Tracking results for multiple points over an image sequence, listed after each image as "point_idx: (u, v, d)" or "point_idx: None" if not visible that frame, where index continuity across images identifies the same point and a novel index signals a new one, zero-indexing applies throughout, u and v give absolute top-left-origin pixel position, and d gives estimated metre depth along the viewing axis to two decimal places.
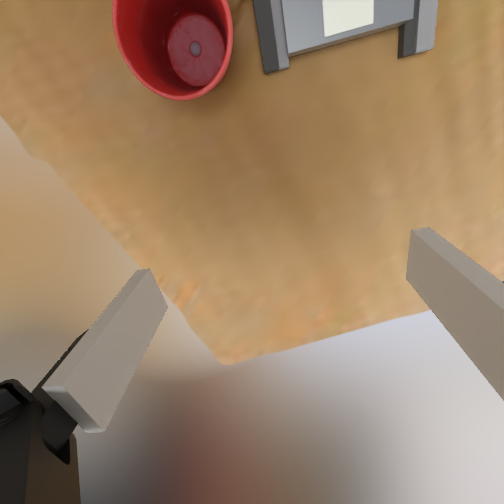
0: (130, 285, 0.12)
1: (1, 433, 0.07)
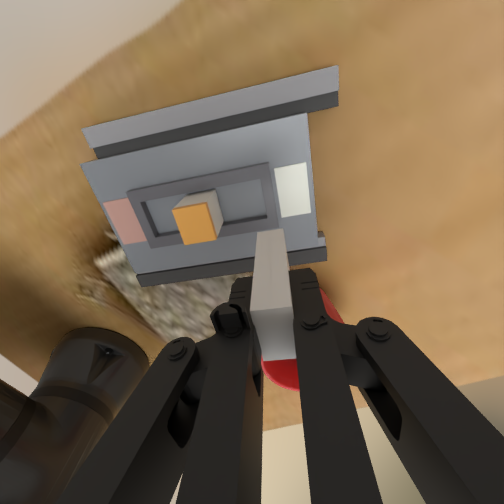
0: (262, 242, 0.13)
1: (226, 344, 0.08)
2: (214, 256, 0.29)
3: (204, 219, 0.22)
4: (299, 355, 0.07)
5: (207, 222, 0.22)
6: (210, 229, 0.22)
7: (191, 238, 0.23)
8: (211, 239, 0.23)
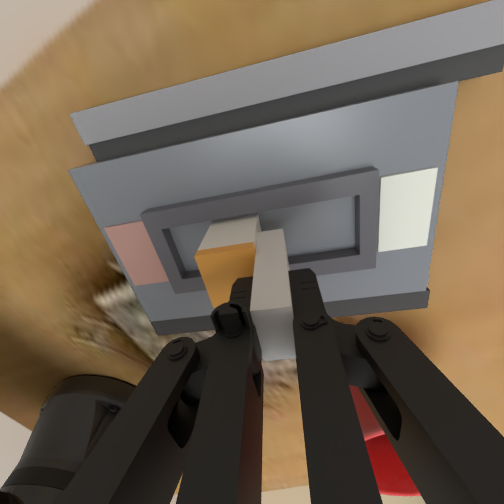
0: (262, 242, 0.13)
1: (226, 344, 0.08)
2: None
3: (249, 271, 0.13)
4: (299, 355, 0.07)
5: None
6: None
7: (225, 299, 0.14)
8: None
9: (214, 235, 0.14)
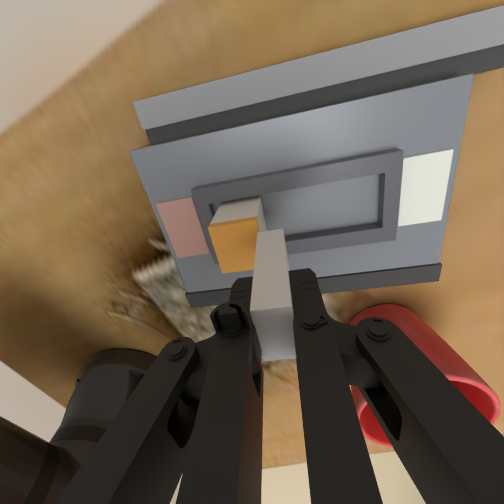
0: (262, 242, 0.13)
1: (226, 344, 0.08)
2: None
3: (252, 241, 0.16)
4: (299, 355, 0.07)
5: None
6: None
7: (232, 265, 0.17)
8: None
9: (223, 213, 0.17)
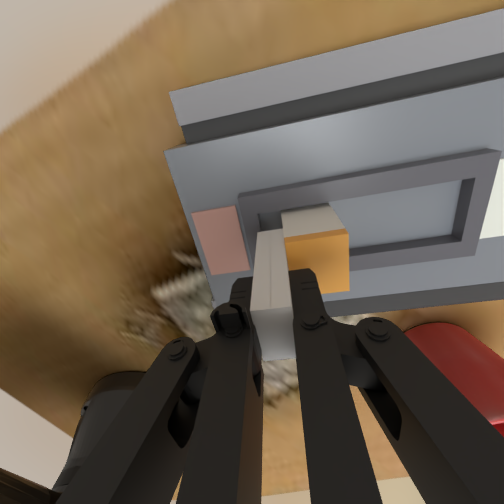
0: (262, 242, 0.13)
1: (226, 344, 0.08)
2: (345, 293, 0.19)
3: (339, 258, 0.13)
4: (299, 355, 0.07)
5: (343, 263, 0.13)
6: (344, 274, 0.13)
7: None
8: (341, 289, 0.13)
9: (293, 223, 0.14)
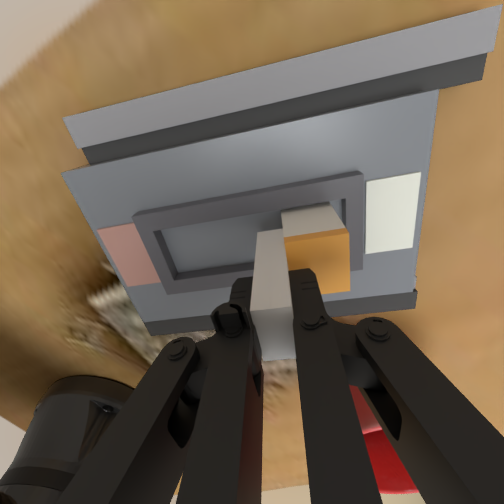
0: (262, 242, 0.13)
1: (227, 344, 0.08)
2: None
3: (339, 258, 0.12)
4: (299, 355, 0.07)
5: (343, 263, 0.12)
6: (345, 274, 0.13)
7: None
8: (342, 290, 0.13)
9: (293, 223, 0.14)
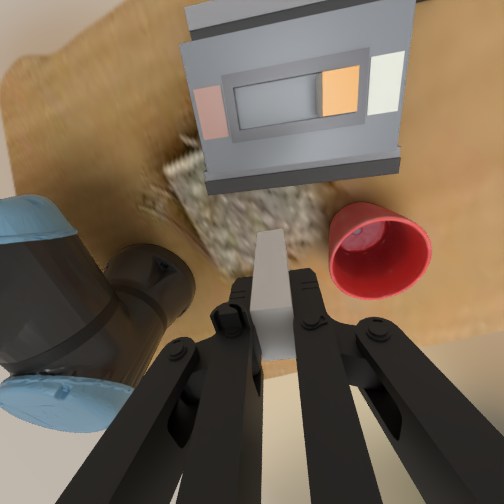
0: (262, 242, 0.13)
1: (226, 344, 0.08)
2: (290, 159, 0.30)
3: (352, 84, 0.22)
4: (299, 355, 0.07)
5: (354, 88, 0.22)
6: (355, 97, 0.22)
7: (332, 108, 0.23)
8: (352, 110, 0.23)
9: None
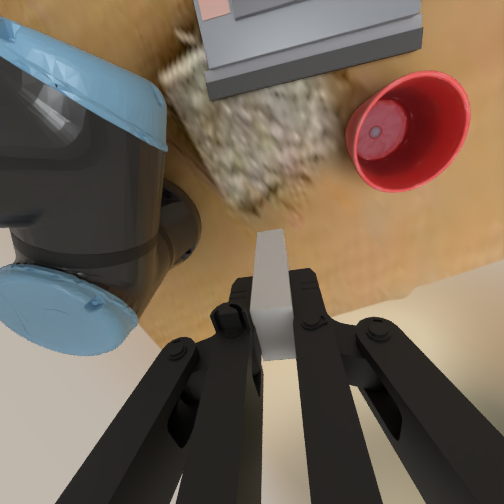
0: (262, 242, 0.13)
1: (226, 344, 0.08)
2: (300, 36, 0.27)
3: None
4: (299, 355, 0.07)
5: None
6: None
7: None
8: None
9: None
